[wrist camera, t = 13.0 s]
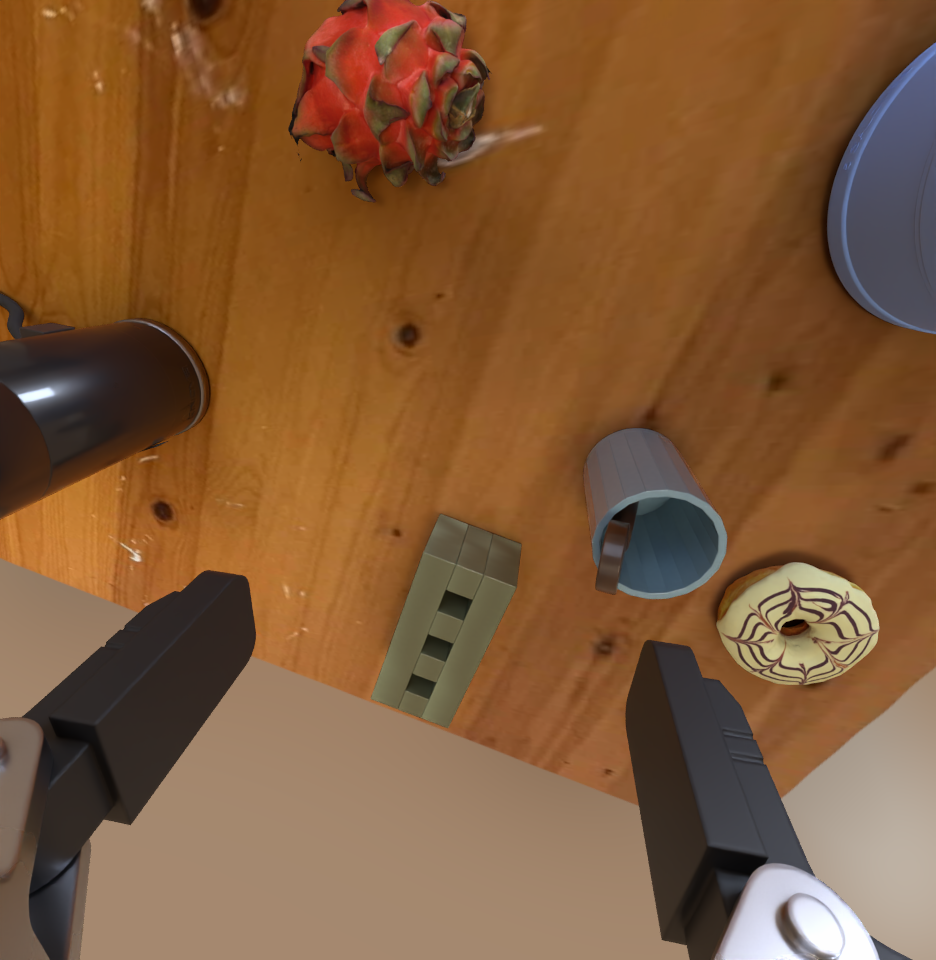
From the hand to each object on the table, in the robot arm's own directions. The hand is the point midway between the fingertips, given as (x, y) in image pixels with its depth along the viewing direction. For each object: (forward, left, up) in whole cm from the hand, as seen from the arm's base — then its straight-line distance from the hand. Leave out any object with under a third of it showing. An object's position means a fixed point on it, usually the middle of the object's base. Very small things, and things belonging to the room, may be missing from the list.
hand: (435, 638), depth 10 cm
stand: (-2, -23, -28) cm, 37 cm away
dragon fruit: (-10, +13, -29) cm, 33 cm away
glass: (+10, -7, -29) cm, 31 cm away
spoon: (+10, -7, -28) cm, 30 cm away
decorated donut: (+25, -16, -29) cm, 41 cm away
